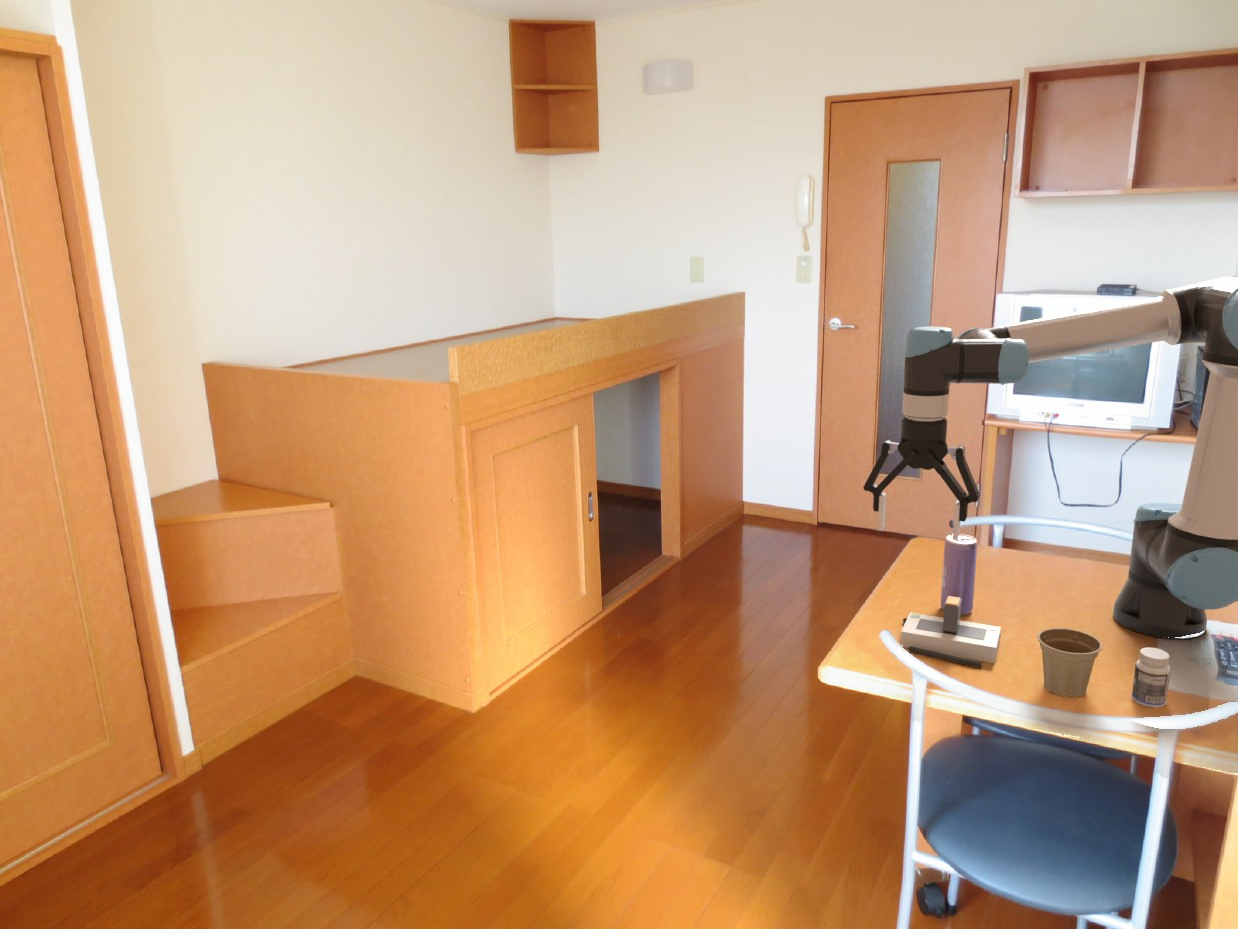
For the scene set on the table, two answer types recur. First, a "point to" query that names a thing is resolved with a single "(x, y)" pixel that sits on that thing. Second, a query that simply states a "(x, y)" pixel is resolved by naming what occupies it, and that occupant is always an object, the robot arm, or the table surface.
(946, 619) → the lever
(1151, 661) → the pill bottle
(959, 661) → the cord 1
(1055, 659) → the flower pot
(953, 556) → the beverage can
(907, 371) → the robot arm
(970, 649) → the white slider switch base
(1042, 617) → the table surface
